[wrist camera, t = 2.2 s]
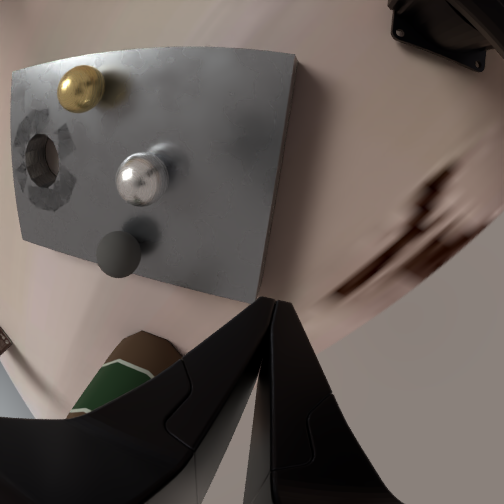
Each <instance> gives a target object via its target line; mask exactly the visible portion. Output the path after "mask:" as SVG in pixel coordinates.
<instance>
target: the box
mask: <svg viewBox="0 0 504 504" xmlns="http://www.w3.org/2000/svg"><path fill="white" fill-rule="evenodd" d="M11 345H12V342H11V341H10V339H9V338H8V337H7V335H6V334H5V333H4V331H3V330H2V329H1V328H0V355H1V354H2V353H4V352H5V351H6V350H7V349H8V348H9V347H10V346H11Z"/></svg>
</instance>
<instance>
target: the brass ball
mask: <svg viewBox="0 0 504 504" xmlns="http://www.w3.org/2000/svg"><path fill="white" fill-rule="evenodd" d="M104 91H105V80H104V77H103V75H102V73H101V72H100V71H99V70H98V69H97V68H95V67H93V66H90V65H79V66H76V67H73V68H72V69H70V70H69V71H67V72H66V73H65V74H64V75H63V77H62V78H61V80H60V82H59V84H58V88H57V98H58V101H59V103H60V105H61V106H62V107H63V108H64V109H65V110H67V111H69V112H71V113H84V112H87V111H89V110H91V109H93V108H94V107H95V106H96V105H97V104H98V103H99V102H100V100H101V99H102V97H103V95H104Z"/></svg>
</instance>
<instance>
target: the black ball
mask: <svg viewBox="0 0 504 504" xmlns="http://www.w3.org/2000/svg"><path fill="white" fill-rule="evenodd" d="M96 258H97V262H98V265H99V267H100V268H101V270H102V271H103V272H104V273H106V274H107V275H109V276H111V277H114V278H123V277H126V276H129V275H130V274H132V273H133V272H134V271H135V270H136V269H137V267H138V266H139V263H140V260H141V249H140V245H139V243H138V241H137V240H136V239H135V238H134V237H133V236H132V235H131V234H129V233H127V232H124V231H113V232H110V233H108V234H107V235H105V236H104V237H103V238H102V239H101V241H100V242H99V244H98V246H97V250H96Z"/></svg>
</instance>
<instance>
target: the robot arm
mask: <svg viewBox="0 0 504 504" xmlns="http://www.w3.org/2000/svg"><path fill="white" fill-rule="evenodd" d="M388 7H389V8H390V10H393V16H392V26H391V35H392V37H393V38H394V39H395V40H396V41H399V42H402V43H405V44H408V45H411V46H414V47H417V48H420V49H422V50H425V51H428V52H431V53H433V54H436V55H438V56H441V57H443V58H446V59H448V60H450V61H453V62H455V63H457V64H460V65H462V66H464V67H466V68H468V69H471V70H473V71H475V72H482V71H483V70H484V68H485V57H486V50H490V49H496V50H497V52H498V53H499V54H500V55H501V56H502V57H503V59H504V0H388ZM396 31H401V32H402V34H403V36H402V37H400V36H398V35H397V34H396ZM475 62H477V63H478V64H479V67H478V68H477V67H476V65H475ZM275 303H276V304H275ZM262 358H263V359H262ZM261 362H262V363H261ZM260 366H261V367H260ZM259 370H260V372H259ZM258 374H259V376H258ZM257 377H258V383H257V392H256V400H255V409H254V418H253V428H252V435H251V444H250V452H249V460H248V468H247V476H246V484H245V492H244V499H243V504H404V503H402V502H401V501H400V500H398V499H397V498H396V497H395V496H394V495H393V494H392V493H391V492H390V491H389V490H388V488H387V487H386V486H385V484H384V483H383V482H382V480H381V478H380V477H379V475H378V473H377V472H376V470H375V469H374V467H373V465H372V464H371V462H370V461H369V459H368V457H367V456H366V454H365V453H364V451H363V449H362V448H361V446H360V445H359V443H358V441H357V440H356V438H355V436H354V434H353V433H352V431H351V429H350V427H349V426H348V424H347V422H346V420H345V418H344V416H343V414H342V412H341V410H340V408H339V406H338V404H337V402H336V399H335V397H334V395H333V394H332V390H331V388H330V386H329V384H328V381H327V379H326V377H325V375H324V373H323V370H322V368H321V366H320V364H319V361H318V359H317V357H316V355H315V353H314V350H313V348H312V346H311V344H310V342H309V339H308V337H307V335H306V333H305V331H304V328H303V326H302V324H301V322H300V320H299V318H298V315H297V313H296V311H295V309H294V307H293V305H292V303H290V302H286V301H281V300H277V301H275V299H272V298H267V297H263V296H262V297H259V298H258V299H257V300H256V301H254V302H253V303H252V304H251V305H249V306H248V307H247V308H246V309H244V310H243V311H242V312H240V313H239V314H238V315H237V316H235V317H234V318H233V319H232V320H230V321H229V322H228V323H226V324H225V325H224V326H223V327H221V328H220V329H219V330H217V331H216V332H215V333H213V334H212V335H211V336H210V337H208V338H207V339H206V340H204V341H203V342H202V343H200V344H199V345H198V346H196V347H195V348H194V349H192V350H191V351H190V352H188V353H187V354H186V355H184V356H183V357H182V359H179V360H178V361H176V362H175V363H174V364H172V365H171V366H170V367H168V368H167V369H165V370H164V371H162V372H161V373H159V374H158V375H156V376H155V377H153V378H152V379H150V380H148V381H147V382H145V383H143V384H141V385H140V386H138V387H136V388H135V389H133V390H131V391H129V392H127V393H125V394H123V395H121V396H120V397H118V398H116V399H114V400H112V401H110V402H108V403H106V404H104V405H102V406H100V407H98V408H96V409H94V410H92V411H90V412H88V413H86V414H83V415H80V416H77V417H73V418H69V419H23V418H8V417H0V504H201V503H202V501H203V499H204V497H205V494H206V493H207V490H208V488H209V486H210V484H211V482H212V480H213V478H214V476H215V473H216V471H217V469H218V467H219V465H220V463H221V460H222V458H223V456H224V454H225V452H226V450H227V447H228V445H229V443H230V441H231V439H232V436H233V434H234V432H235V429H236V427H237V425H238V423H239V420H240V418H241V416H242V413H243V411H244V409H245V406H246V404H247V402H248V399H249V397H250V395H251V392H252V390H253V387H254V385H255V382H256V380H257Z"/></svg>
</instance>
